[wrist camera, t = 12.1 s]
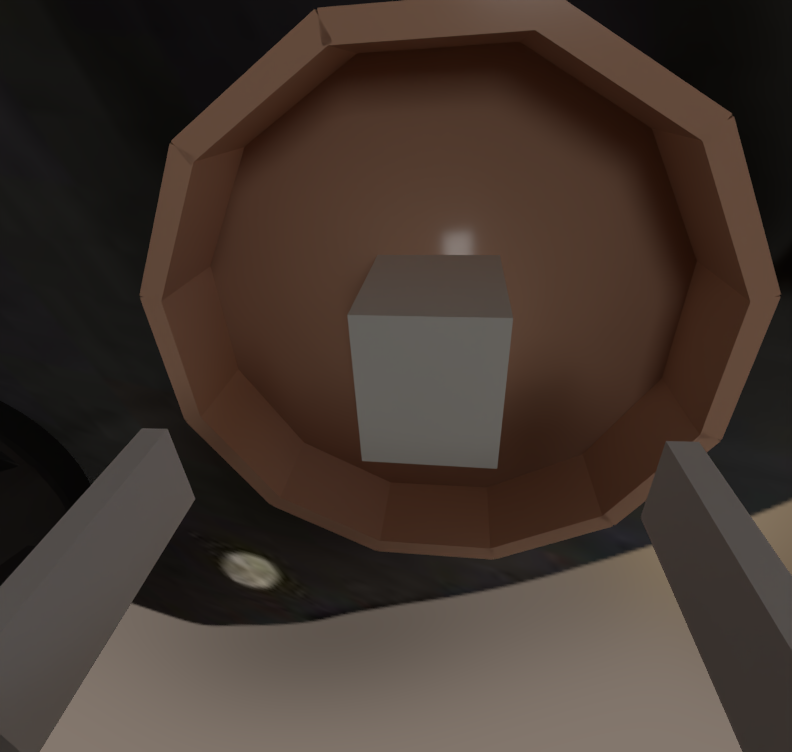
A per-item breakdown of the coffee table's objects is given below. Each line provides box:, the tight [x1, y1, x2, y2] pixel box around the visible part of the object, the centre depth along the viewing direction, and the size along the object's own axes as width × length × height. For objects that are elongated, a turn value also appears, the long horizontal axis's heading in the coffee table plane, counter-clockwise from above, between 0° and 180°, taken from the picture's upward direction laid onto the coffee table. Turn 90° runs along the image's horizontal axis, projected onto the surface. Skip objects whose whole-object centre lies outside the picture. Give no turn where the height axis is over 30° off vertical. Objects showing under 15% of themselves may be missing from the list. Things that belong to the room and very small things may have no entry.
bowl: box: [140, 0, 781, 559], centre depth 19 cm, size 22×22×5 cm
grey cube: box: [347, 255, 513, 469], centre depth 18 cm, size 5×6×6 cm
